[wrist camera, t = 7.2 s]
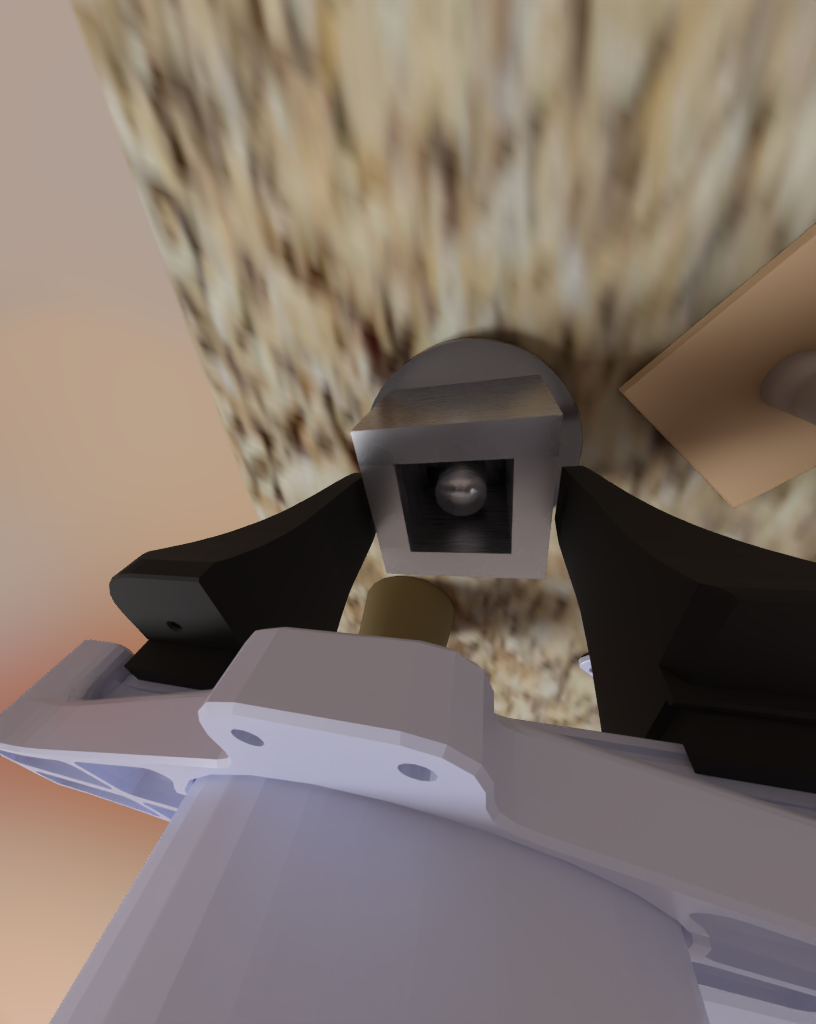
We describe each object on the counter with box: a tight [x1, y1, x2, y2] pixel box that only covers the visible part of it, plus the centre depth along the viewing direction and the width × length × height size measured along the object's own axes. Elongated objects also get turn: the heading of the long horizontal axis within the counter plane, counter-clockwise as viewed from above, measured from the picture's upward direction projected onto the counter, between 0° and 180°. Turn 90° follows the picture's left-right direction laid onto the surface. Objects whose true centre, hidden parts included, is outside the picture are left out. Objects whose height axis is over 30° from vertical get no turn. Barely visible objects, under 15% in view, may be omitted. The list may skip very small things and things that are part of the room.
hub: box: [371, 337, 582, 516], centre depth 13 cm, size 9×9×4 cm
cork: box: [359, 576, 454, 647], centre depth 17 cm, size 6×6×11 cm
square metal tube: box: [351, 374, 563, 579], centre depth 12 cm, size 6×6×4 cm
